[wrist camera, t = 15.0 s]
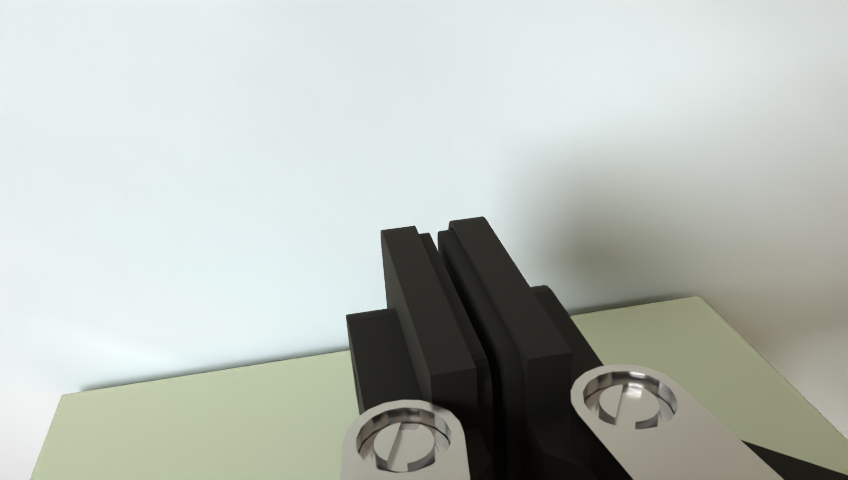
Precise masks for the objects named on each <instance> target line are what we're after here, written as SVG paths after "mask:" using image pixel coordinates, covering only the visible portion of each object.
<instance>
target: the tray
mask: <svg viewBox="0 0 848 480" xmlns="http://www.w3.org/2000/svg"><path fill="white" fill-rule="evenodd" d="M570 317H571V319H572V320H573V322H574V323H575V324H576V326H577V327H578V329H579V330H580V332H581V333H582V335H583V336H584V337H585V339H586V340H587V342H588V343H589V345H590V346H591V347H592V349H593V350H594V352H595V353H596V355H597V356H598V358H599V359H600V360H601V362H602V363H603V365H604V366H607V365H613V364H624V365H636V366H641V367H645V368H650V369H652V370H655V371H657V372H660V373H662V374H665V375H667V376H668V377H669V378H671V379H672V380H674V381H675V382H677V383H678V384H679V385H680V386H682V387H683V388H684V389H685V390H686V391H687V392H688V393H689V394H690V395H691V396H693V397H694V398H695V399H696V400H697V401H698V402H699V403H700V404H701V405H702V406H704V407H705V408H706V409H707V410H708V411H709V412H710V413H711V414H712V415H713V416H715V417H716V418H717V419H718V420H719V421H720V422H721V423H722V424H723V425H724V426H726V427H727V428H728V429H729V430H730V431H731V432H732V433H733V434H734V435H735V436H737V437H738V438H739V439H740V440H743V441H746V442H749V443H752V444H755V445H758V446H761V447H764V448H767V449H770V450H773V451H776V452H779V453H782V454H785V455H788V456H791V457H794V458H797V459H800V460H803V461H807V462H810V463H813V464H816V465H819V466H822V467H825V468H828V469H831V470H834V471H837V472H840V473H843V474H846V475H848V440H847V439H846V438H845V437H844V436H843V435H842V434H841V433H840V432H839V431H838V430H837V429H836V428H835V427H834V426H833V425H832V424H831V423H830V422H829V421H828V420H827V419H826V418H825V417H824V416H823V415H822V414H821V413H819V412H818V411H817V410H816V409H815V408H814V407H813V406H812V405H811V404H810V403H809V402H808V401H807V400H806V399H805V398H804V397H803V396H802V395H801V394H800V393H799V392H798V391H797V390H796V389H795V388H794V387H793V386H792V385H791V384H790V383H789V382H788V381H787V380H785V379H784V378H783V377H782V376H781V375H780V374H779V373H778V372H777V371H776V370H775V369H774V368H773V367H772V366H771V365H770V364H769V363H768V362H767V361H766V360H765V359H764V358H763V357H762V356H761V355H760V354H759V353H758V352H757V351H756V350H755V349H754V348H753V347H752V346H750V345H749V344H748V343H747V342H746V341H745V340H744V339H743V338H742V337H741V336H740V335H739V334H738V333H737V332H736V331H735V330H734V329H733V328H732V327H731V326H730V325H729V324H728V323H727V322H726V321H725V320H724V319H723V318H722V317H721V316H720V315H719V314H718V313H716V312H715V311H714V310H713V309H712V308H711V307H710V306H709V305H708V304H707V303H706V302H705V301H704V300H703V299H702V298H701V297H700V296H694V297H688V298H681V299H675V300H669V301H662V302H656V303H649V304H643V305H636V306H630V307H624V308H617V309H611V310H604V311H598V312H591V313H585V314H579V315H572V316H570ZM359 416H360V415H359V409H358V403H357V397H356V390H355V383H354V376H353V369H352V361H351V354H350V350H347V351H341V352H334V353H328V354H322V355H315V356H309V357H302V358H296V359H289V360H283V361H277V362H270V363H264V364H257V365H251V366H244V367H238V368H232V369H225V370H219V371H212V372H206V373H199V374H193V375H187V376H180V377H174V378H167V379H161V380H154V381H148V382H142V383H135V384H129V385H122V386H116V387H109V388H103V389H97V390H90V391H84V392H77V393H71V394H65V395H62V396H61V399H60V401H59V404H58V407H57V409H56V412H55V415H54V417H53V420H52V423H51V425H50V428H49V431H48V433H47V436H46V438H45V441H44V444H43V446H42V449H41V452H40V454H39V457H38V460H37V462H36V465H35V467H34V470H33V473H32V475H31V478H30V480H340V470H341V458H342V446H343V440H344V437H345V434H346V431H347V429H348V428H349V426H350V425H351V424H352V423H353V421H354V420H355V419H356V418H357V417H359Z"/></svg>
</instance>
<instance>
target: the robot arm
mask: <svg viewBox="0 0 848 480" xmlns="http://www.w3.org/2000/svg"><path fill="white" fill-rule="evenodd" d="M381 246H382V257H383V268H384V278H385V289H386V299H387V309H382V310H375V311H368V312H362V313H355V314H348V315H346V320H347V329H348V337H349V346H350V354H351V361H352V369H353V376H354V383H355V390H356V397H357V403H358V409H359V415H360V416H359V417H357V418H356V419H355V420H354V421H353V423H352V424H351V425H350V426H349V428H348V429H347V431H346V434H345V437H344V440H343V446H342V458H341V470H340V480H848V475H846V474H843V473H840V472H837V471H834V470H831V469H828V468H825V467H822V466H819V465H816V464H813V463H810V462H807V461H803V460H800V459H797V458H794V457H791V456H788V455H785V454H782V453H779V452H776V451H773V450H770V449H767V448H764V447H761V446H758V445H755V444H752V443H749V442H746V441H743V440H740V439H739V438H738V437H737V436H735V435H734V434H733V433H732V432H731V431H730V430H729V429H728V428H727V427H726V426H724V425H723V424H722V423H721V422H720V421H719V420H718V419H717V418H716V417H715V416H713V415H712V414H711V413H710V412H709V411H708V410H707V409H706V408H705V407H704V406H702V405H701V404H700V403H699V402H698V401H697V400H696V399H695V398H694V397H693V396H691V395H690V394H689V393H688V392H687V391H686V390H685V389H684V388H683V387H682V386H680V385H679V384H678V383H677V382H675V381H674V380H672V379H671V378H669V377H668V376H667V375H665V374H662V373H660V372H657V371H655V370H652V369H650V368H645V367H641V366H636V365H624V364H613V365H607V366H604V365H603V363H602V362H601V360H600V359H599V358H598V356H597V355H596V353H595V352H594V350H593V349H592V347H591V346H590V345H589V343H588V342H587V340H586V339H585V337H584V336H583V335H582V333H581V332H580V330H579V329H578V327H577V326H576V324H575V323H574V322H573V320H572V319H571V317H570V316H569V314H568V313H567V312H566V310H565V309H564V307H563V306H562V304H561V303H560V302H559V300H558V299H557V297H556V296H555V294H554V293H553V291H552V290H551V289H550V288H549V287H548V286H545V285H542V286H535V287H530V286H529V285H528V283H527V282H526V280H525V279H524V277H523V276H522V274H521V273H520V271H519V270H518V268H517V266H516V265H515V263H514V262H513V260H512V259H511V257H510V256H509V254H508V253H507V251H506V249H505V248H504V246H503V245H502V243H501V242H500V240H499V239H498V237H497V236H496V234H495V233H494V231H493V229H492V228H491V226H490V225H489V223H488V222H487V220H486V219H485V218H484V217H476V218H469V219H461V220H454V221H450V222H449V228H448V230H445V231H439V232H438V251H437V248H436V246H435V244H434V242H433V240H432V238H431V235H430V234H429V233H423V234H418V231H417V229H416V227H415V226H409V227H402V228H394V229H387V230H381Z"/></svg>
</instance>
